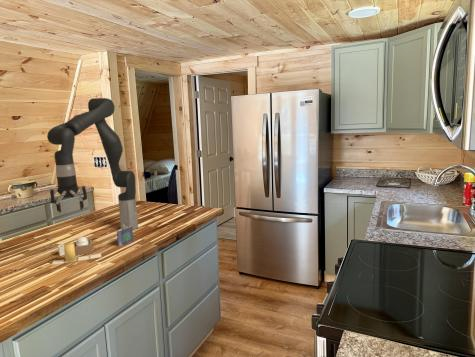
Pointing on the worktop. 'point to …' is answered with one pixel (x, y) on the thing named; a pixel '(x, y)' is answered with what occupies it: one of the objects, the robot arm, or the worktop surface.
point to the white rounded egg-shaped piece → (82, 241)
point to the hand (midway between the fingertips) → (71, 210)
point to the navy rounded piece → (124, 235)
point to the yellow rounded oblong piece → (69, 252)
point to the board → (81, 252)
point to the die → (61, 249)
